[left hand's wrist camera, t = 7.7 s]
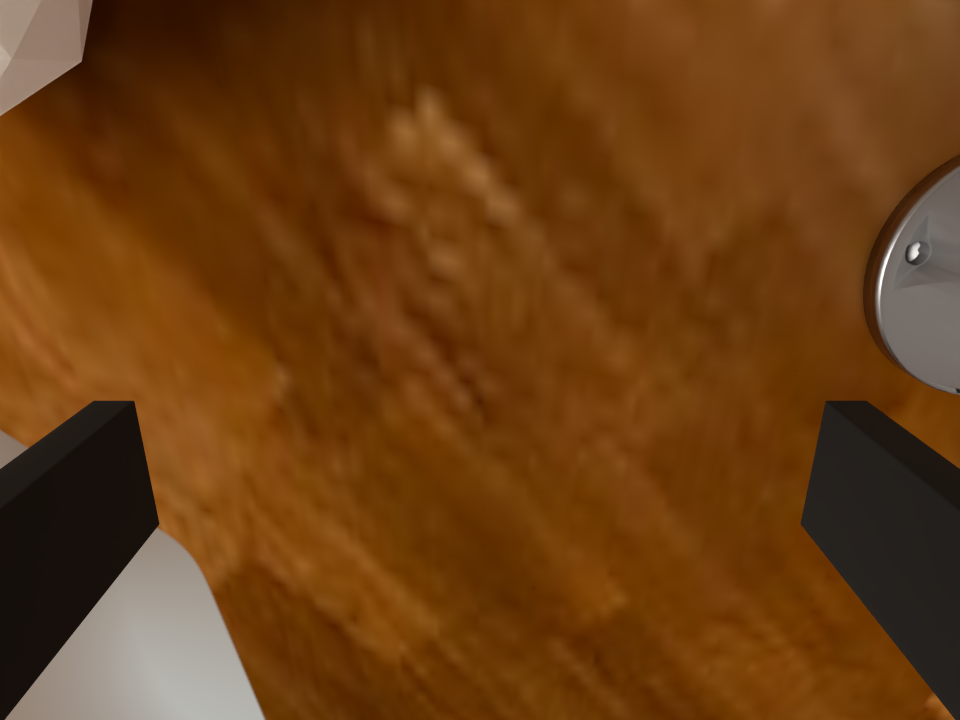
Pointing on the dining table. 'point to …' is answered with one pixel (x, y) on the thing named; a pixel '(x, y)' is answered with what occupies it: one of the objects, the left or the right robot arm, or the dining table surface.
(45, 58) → the sphere
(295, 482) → the dining table surface
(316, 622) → the dining table surface
